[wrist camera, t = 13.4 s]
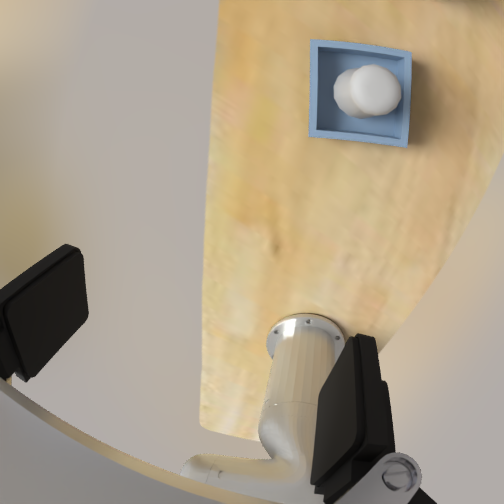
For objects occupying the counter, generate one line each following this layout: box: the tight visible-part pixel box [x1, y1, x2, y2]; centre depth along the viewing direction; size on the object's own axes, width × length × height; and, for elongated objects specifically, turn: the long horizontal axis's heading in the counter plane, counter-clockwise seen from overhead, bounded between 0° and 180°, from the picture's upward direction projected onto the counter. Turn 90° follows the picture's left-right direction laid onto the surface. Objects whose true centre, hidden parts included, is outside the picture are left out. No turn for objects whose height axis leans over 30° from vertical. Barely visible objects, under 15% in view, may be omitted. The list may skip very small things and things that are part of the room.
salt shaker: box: [334, 64, 401, 119], centre depth 26 cm, size 6×6×13 cm
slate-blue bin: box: [309, 39, 412, 148], centre depth 30 cm, size 11×11×4 cm
